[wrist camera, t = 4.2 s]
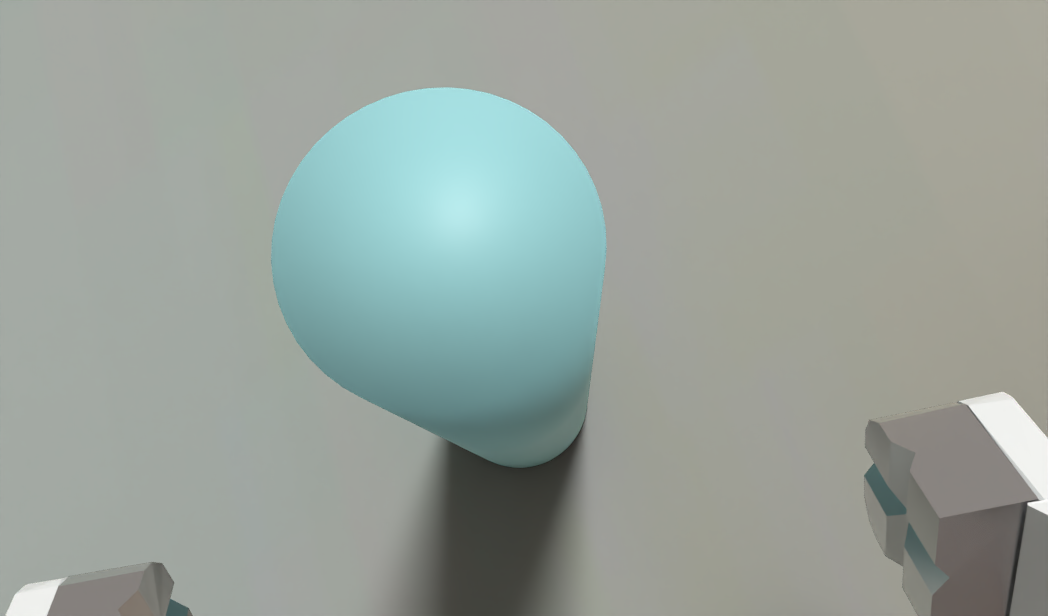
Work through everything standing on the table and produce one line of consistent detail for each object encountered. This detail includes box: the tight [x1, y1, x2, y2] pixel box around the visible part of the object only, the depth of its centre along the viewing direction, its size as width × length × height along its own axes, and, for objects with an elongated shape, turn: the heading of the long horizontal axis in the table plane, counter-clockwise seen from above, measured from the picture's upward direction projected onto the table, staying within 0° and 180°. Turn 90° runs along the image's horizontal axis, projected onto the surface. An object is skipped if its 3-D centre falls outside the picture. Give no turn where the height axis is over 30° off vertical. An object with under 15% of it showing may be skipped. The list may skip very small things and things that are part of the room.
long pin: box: [271, 88, 606, 468], centre depth 15 cm, size 3×3×13 cm
